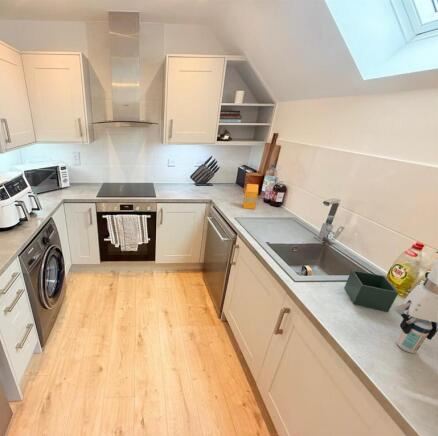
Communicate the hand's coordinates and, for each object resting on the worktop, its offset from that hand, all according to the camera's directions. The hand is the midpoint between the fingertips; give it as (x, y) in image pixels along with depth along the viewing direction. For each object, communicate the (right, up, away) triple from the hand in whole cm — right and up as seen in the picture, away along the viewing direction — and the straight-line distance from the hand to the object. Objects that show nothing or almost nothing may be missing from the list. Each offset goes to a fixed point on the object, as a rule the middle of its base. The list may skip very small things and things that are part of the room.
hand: (414, 332), depth 76 cm
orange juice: (-1, +53, +120) cm, 131 cm away
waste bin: (+6, +3, +23) cm, 24 cm away
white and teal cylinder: (0, -6, +3) cm, 7 cm away
